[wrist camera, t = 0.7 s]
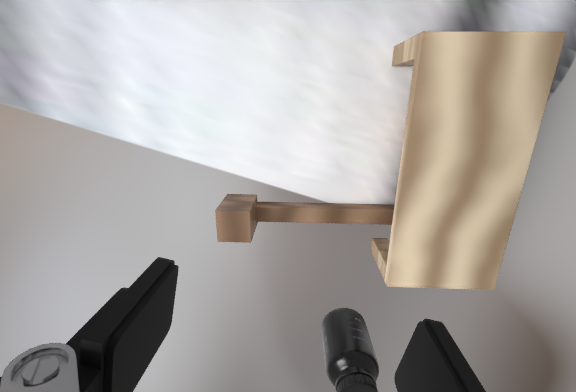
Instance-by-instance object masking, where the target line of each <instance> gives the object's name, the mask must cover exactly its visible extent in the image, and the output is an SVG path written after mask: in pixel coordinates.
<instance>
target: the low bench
mask: <svg viewBox="0 0 576 392" xmlns="http://www.w3.org/2000/svg"><path fill="white" fill-rule="evenodd" d="M565 35H566V32H421V33H420V34H418V35H416V36H414V37H412V38H410V39H408V40H406V41H404V42H402V43H400V44H398V45H396V46H395V47H394V53H393V62H392V66H412V65H414V67H413V74H412V81H411V89H410V96H409V103H408V111H407V118H406V126H405V133H404V140H403V148H402V155H401V162H400V170H399V177H398V185H397V192H396V199H395V207H394V214H393V221H392V229H391V236H390V243H389V241H388V240H387V239H385V238H373V239H372V246H371V252H372V254H373V256H374V259H375V261H376V263H377V265H378V267H379V269H380V271H381V274H382V276H383V278H384V280H385V282H386V285H387V286H389V287H420V288H453V289H486V290H494V288H495V284H496V281H497V277H498V274H499V270H500V267H501V263H502V259H503V256H504V252H505V249H506V245H507V242H508V238H509V235H510V231H511V227H512V224H513V220H514V216H515V213H516V210H517V206H518V203H519V199H520V195H521V192H522V188H523V185H524V181H525V178H526V174H527V170H528V167H529V163H530V160H531V156H532V152H533V149H534V145H535V142H536V138H537V135H538V131H539V128H540V124H541V121H542V117H543V114H544V109H545V106H546V103H547V99H548V96H549V92H550V89H551V85H552V81H553V78H554V74H555V71H556V67H557V64H558V60H559V57H560V53H561V49H562V46H563V42H564V39H565Z"/></svg>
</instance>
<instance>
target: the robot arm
mask: <svg viewBox="0 0 576 392" xmlns="http://www.w3.org/2000/svg"><path fill="white" fill-rule="evenodd" d="M177 276H178V266H177V265H174V261H173V260H169V259H165V258H160V257H158V258H157V259H156V260H155V261H154V262H153V263H152V264H151V265H150V266H149V267H148V268H147V269H146V270H145V271H144V273H143V274H142V275H141V276H140V277H139V278H138V279H137V280H136V281H135V282H134V283H133V284H132V285H131V286H130V287H129V288H121V289H120V290H119V291H118V292H117V293H116V294H115V295H114V296H113V297H112V298H111V299H110V300H109V301H108V302H107V303H106V304H105V305H104V306H103V307H102V308H101V309H100V310H99V311H98V312H97V313H96V314H95V315H94V316H93V317H92V318H91V319H90V320H89V321H88V322H87V323H86V324H85V325H84V326H83V327H82V328H81V329H80V330H79V331H78V332H77V333H76V334H75V335H74V336H73V337H72V338H71V339H70V340H69V341H68V342H67V343H66V344H62V343H49V344H43V345H39V346H37V347H34V348H31V349H29V350H27V351H25V352H23V353H22V354H20V355H18V356H17V357H16V358H15V359H13V360H12V361H11V362H10V363H9V365H8V366H7V367H6V368H5V370H4V372H3V375H2V377H0V392H133V390H134V389H135V387H136V385H137V384H138V382H139V380H140V379H141V377H142V375H143V374H144V372H145V370H146V369H147V367H148V365H149V363H150V362H151V360H152V358H153V357H154V355H155V353H156V352H157V350H158V348H159V347H160V345H161V343H162V342H163V340H164V338H165V337H166V335H167V333H168V331H169V329H170V326H171V322H172V314H173V306H174V299H175V291H176V284H177ZM395 385H396V388H397V391H398V392H486V391H485V390H484V388H483V386H482V385H481V383H480V382H479V380H478V378H477V377H476V375H475V374H474V372H473V370H472V369H471V367H470V366H469V364H468V362H467V361H466V359H465V358H464V356H463V354H462V353H461V351H460V350H459V348H458V346H457V345H456V343H455V342H454V340H453V338H452V337H451V335H450V334H449V332H448V330H447V329H446V327H445V326H444V324H443V323H442V322H439V321H434V320H430V319H424V320H423V321H422V322H419V323H418V324H417V327H416V329H415V331H414V333H413V336H412V338H411V340H410V342H409V344H408V346H407V349H406V351H405V353H404V355H403V358H402V360H401V362H400V364H399V366H398V368H397V371H396V373H395Z"/></svg>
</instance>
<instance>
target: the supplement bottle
mask: <svg viewBox="0 0 576 392" xmlns="http://www.w3.org/2000/svg"><path fill="white" fill-rule="evenodd" d="M321 329H322V339H323V348H324V356H325V365H326V372H327V376H328V379H329V380H330V382H331V383H332V384H333V386H335V387H336V391H337V392H378V391H377V387H376V380H377V377H378V374H379V366H378V362H377V359H376V356H375V353H374V350H373V346H372V343H371V340H370V337H369V334H368V330H367V327H366V324H365V321H364V319H363V317H362V316H361V315H360V314H359V313H357V312H356V311H354V310H352V309H348V308H339V309H335V310H333V311H331V312H329V313H328V314H327V315H326V317H325V318H324V319H323V321H322V328H321Z"/></svg>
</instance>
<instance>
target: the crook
mask: <svg viewBox="0 0 576 392" xmlns="http://www.w3.org/2000/svg"><path fill="white" fill-rule="evenodd" d="M394 207H395V205H381V204H335V203H287V202H286V203H285V202H257V195H241V194H240V195H239V194H227V196H226V197H225V198H224V200H223V201H222V202H221V204H220V205H219V206H218V208H217V209H216V226H217V239H218V242H251V241H252V238H253V235H254V232H255V229H256V226H257V223H258V221H265V222H307V223H348V224H350V223H351V224H390V225H392V221H393V214H394Z"/></svg>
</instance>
